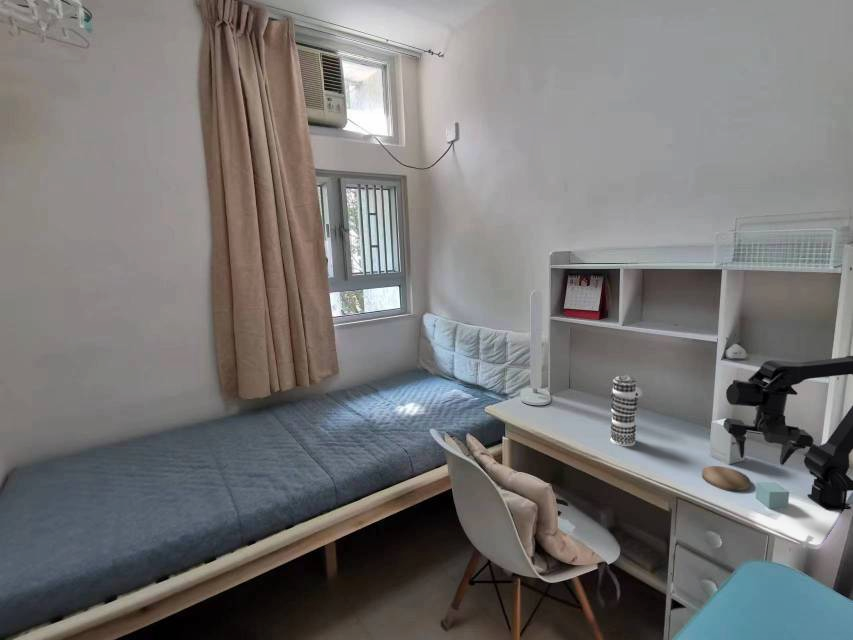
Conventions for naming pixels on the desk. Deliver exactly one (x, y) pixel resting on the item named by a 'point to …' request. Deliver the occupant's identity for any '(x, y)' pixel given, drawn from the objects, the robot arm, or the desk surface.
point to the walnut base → (726, 478)
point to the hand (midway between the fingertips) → (761, 460)
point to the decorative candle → (623, 411)
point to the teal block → (772, 495)
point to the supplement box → (724, 444)
